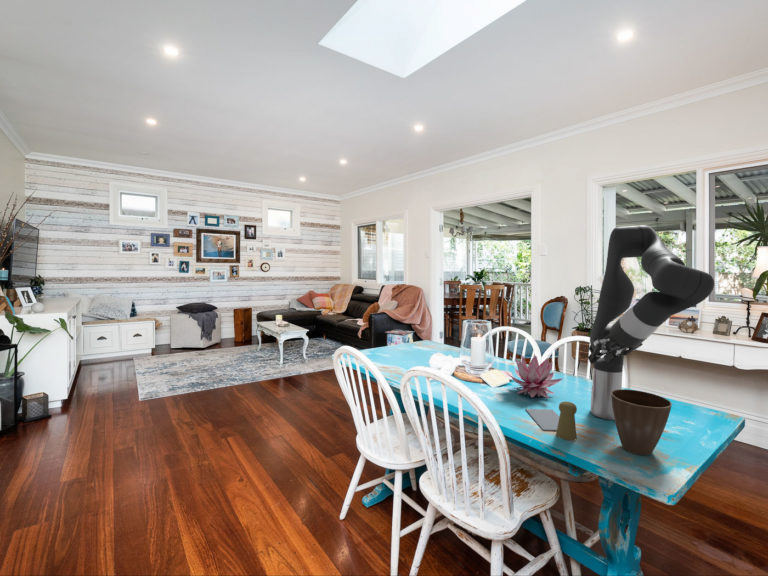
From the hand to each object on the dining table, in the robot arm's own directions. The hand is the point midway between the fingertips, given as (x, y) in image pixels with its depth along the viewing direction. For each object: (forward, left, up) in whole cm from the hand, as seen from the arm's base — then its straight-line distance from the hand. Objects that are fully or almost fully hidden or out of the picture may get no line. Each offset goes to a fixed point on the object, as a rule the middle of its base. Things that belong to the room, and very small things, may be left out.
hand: (598, 360), depth 107 cm
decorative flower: (-51, 0, -28) cm, 58 cm away
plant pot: (-4, +15, -28) cm, 32 cm away
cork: (-12, -3, -28) cm, 31 cm away
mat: (-24, -4, -28) cm, 37 cm away
